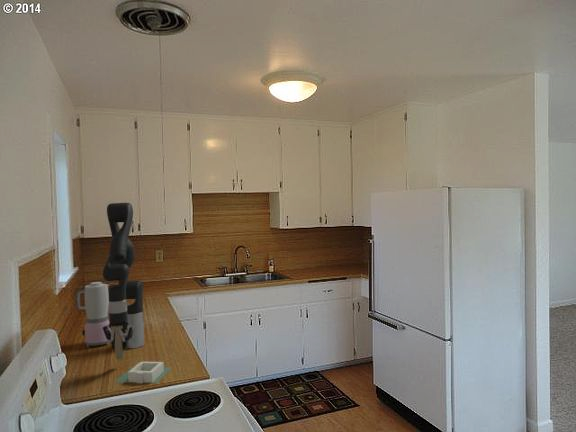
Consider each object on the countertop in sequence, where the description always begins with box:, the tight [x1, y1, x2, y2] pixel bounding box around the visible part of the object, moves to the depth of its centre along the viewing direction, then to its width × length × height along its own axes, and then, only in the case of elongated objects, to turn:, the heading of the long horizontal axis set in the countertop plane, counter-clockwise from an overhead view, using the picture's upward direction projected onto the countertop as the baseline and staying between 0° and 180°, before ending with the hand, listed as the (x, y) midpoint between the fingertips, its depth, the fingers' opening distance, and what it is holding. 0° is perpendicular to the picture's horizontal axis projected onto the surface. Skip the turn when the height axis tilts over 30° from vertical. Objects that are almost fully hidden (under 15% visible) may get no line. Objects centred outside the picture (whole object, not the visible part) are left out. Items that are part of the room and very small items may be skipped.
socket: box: [128, 361, 165, 384], centre depth 171 cm, size 12×10×4 cm
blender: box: [75, 281, 112, 348], centre depth 216 cm, size 16×12×32 cm
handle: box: [111, 325, 126, 361], centre depth 181 cm, size 5×6×15 cm
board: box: [113, 366, 173, 384], centre depth 174 cm, size 16×18×1 cm
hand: (119, 348), depth 181 cm, fingers closed on handle, 4 cm apart
